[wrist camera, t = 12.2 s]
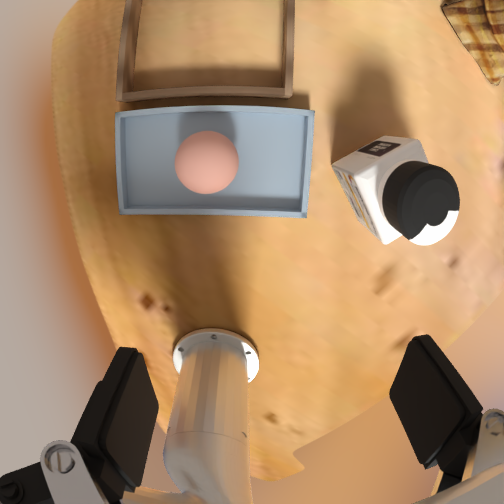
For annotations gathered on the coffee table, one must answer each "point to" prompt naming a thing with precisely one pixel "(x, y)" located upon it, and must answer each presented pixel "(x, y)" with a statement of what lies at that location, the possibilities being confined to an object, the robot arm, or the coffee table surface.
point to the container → (399, 191)
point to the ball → (206, 162)
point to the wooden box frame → (127, 78)
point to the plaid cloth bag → (481, 33)
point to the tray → (249, 152)
